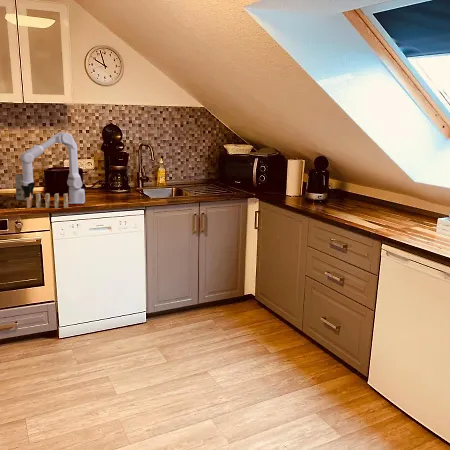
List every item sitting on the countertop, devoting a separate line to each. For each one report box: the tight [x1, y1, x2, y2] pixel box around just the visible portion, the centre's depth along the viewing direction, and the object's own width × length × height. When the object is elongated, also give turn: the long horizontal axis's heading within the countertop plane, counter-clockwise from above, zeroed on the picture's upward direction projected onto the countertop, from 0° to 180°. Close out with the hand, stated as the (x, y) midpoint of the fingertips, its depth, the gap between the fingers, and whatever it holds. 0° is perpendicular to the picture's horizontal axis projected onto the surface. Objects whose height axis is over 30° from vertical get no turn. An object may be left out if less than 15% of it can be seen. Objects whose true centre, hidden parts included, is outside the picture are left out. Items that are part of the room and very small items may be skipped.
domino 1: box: [35, 192, 42, 209], centre depth 282 cm, size 2×5×8 cm, turn 9°
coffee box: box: [14, 173, 34, 201], centre depth 304 cm, size 9×6×16 cm
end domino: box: [26, 193, 33, 209], centre depth 281 cm, size 2×5×8 cm, turn 9°
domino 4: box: [63, 192, 69, 209], centre depth 284 cm, size 2×5×8 cm, turn 9°
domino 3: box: [53, 192, 60, 209], centre depth 284 cm, size 2×5×8 cm, turn 10°
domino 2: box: [44, 192, 51, 209], centre depth 283 cm, size 2×5×8 cm, turn 10°
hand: (29, 196), depth 280 cm, fingers open, 7 cm apart
